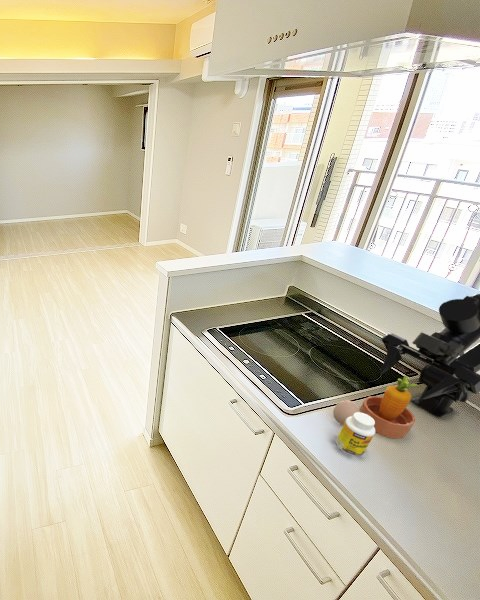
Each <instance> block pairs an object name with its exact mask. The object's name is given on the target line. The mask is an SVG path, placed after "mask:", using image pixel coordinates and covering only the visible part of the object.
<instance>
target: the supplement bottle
mask: <svg viewBox="0 0 480 600" xmlns="http://www.w3.org/2000/svg"><path fill="white" fill-rule="evenodd" d="M374 424H375V421H374V419H373V418H372V417H370V416H369V415H367V414H364V413H361V412H356V413H354V415H353V416H351V417H348V418H347V419H346V421H345V423H344V425H342V427H341V429H340V431H339V433H338V435H337V438H336V439H335V443H336V446H337V448H339V449H340V451H342V452H343V453H345V454H346V455H348V456H352V457H361V456H363V455H364V454H365V452H366V450H367V449H368V447H369V446H370V443H371V442H372V440H373V438H374V436H375V434H376V433H375V428H374Z"/></svg>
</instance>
